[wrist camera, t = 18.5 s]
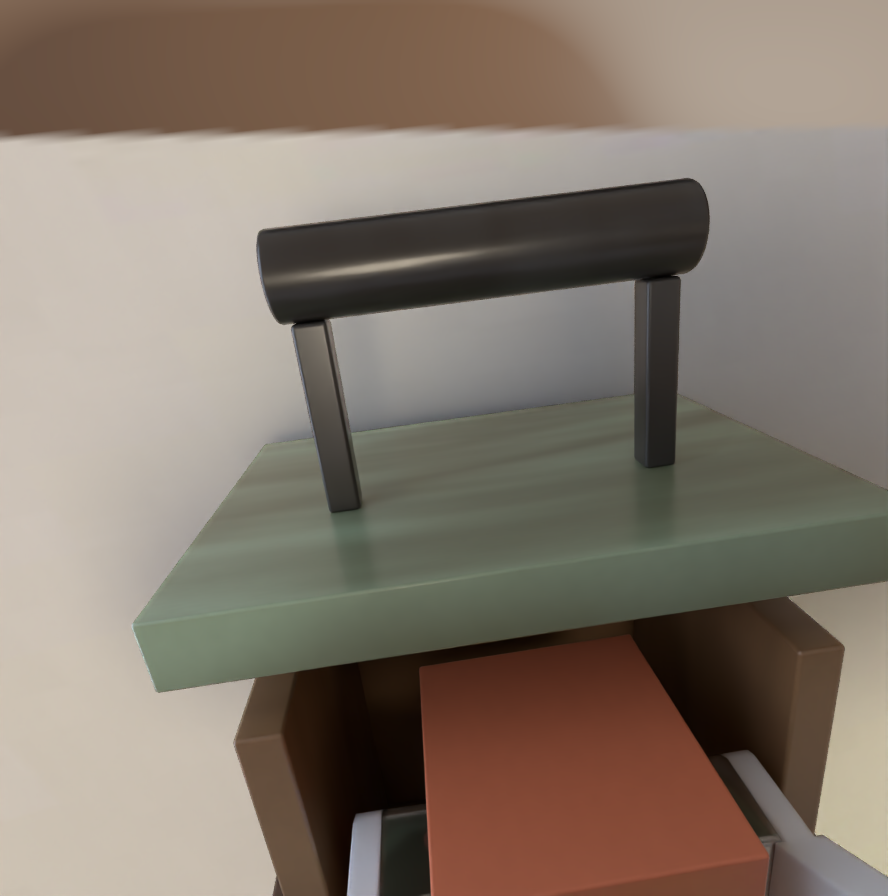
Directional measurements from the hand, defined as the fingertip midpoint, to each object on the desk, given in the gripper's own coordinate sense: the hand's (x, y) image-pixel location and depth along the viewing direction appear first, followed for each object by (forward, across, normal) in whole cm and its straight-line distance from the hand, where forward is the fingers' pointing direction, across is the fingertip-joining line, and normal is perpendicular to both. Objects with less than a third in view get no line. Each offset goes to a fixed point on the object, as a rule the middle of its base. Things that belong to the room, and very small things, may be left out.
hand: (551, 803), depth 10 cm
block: (+2, 0, 0) cm, 2 cm away
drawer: (+7, 0, -1) cm, 7 cm away
